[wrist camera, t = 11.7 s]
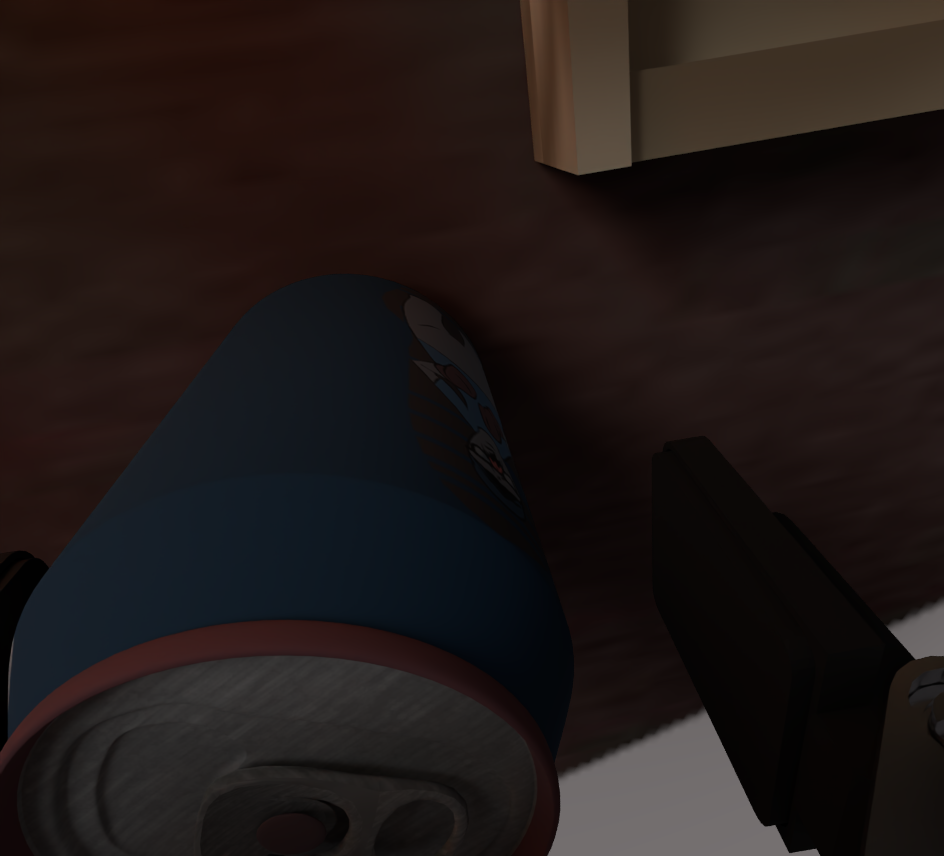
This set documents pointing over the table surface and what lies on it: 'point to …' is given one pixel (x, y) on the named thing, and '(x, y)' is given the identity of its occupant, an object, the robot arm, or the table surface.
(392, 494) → the soda can
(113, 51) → the table surface
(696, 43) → the wooden tray
